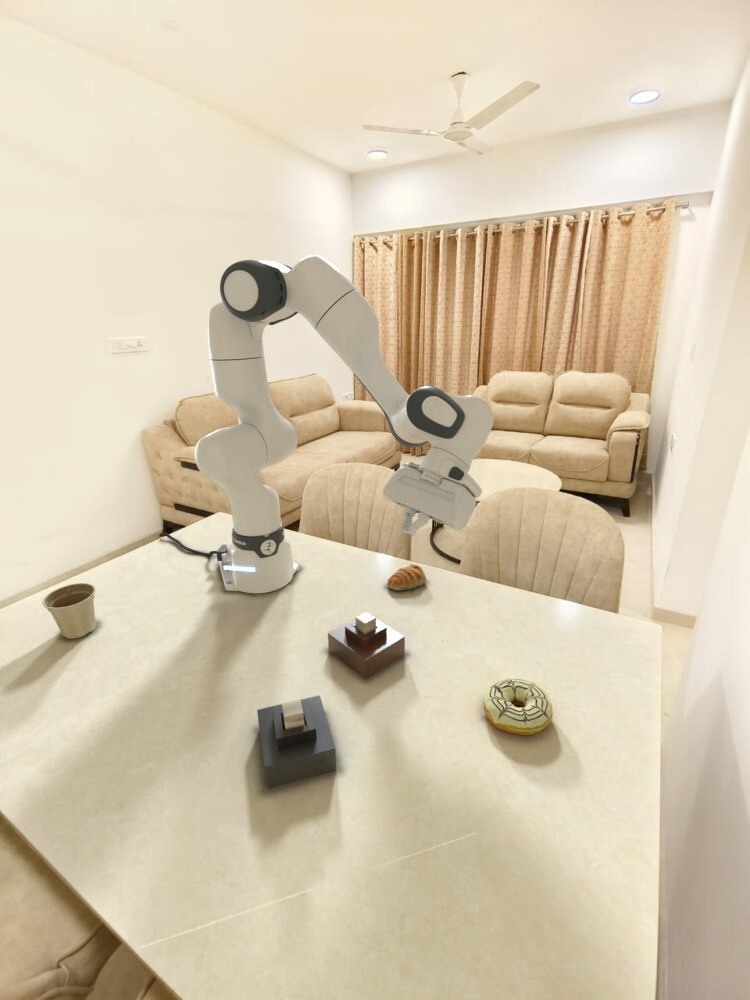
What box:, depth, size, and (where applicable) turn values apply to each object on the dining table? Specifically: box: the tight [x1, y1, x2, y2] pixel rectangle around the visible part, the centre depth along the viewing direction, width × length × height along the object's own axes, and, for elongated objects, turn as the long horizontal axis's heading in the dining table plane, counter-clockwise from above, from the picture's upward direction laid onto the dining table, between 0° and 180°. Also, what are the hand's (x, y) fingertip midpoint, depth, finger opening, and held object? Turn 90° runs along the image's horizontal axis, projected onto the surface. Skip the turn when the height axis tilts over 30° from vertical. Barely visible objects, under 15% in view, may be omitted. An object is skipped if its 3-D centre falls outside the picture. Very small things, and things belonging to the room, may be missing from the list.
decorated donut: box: [483, 677, 554, 736], centre depth 81 cm, size 10×11×4 cm
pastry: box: [387, 563, 427, 592], centre depth 120 cm, size 9×7×4 cm
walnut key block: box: [327, 618, 406, 680], centre depth 96 cm, size 11×10×6 cm
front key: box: [281, 699, 305, 730], centre depth 74 cm, size 3×3×2 cm
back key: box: [354, 611, 377, 634], centre depth 95 cm, size 3×3×2 cm
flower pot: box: [42, 582, 97, 640], centre depth 103 cm, size 9×9×9 cm
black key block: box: [256, 695, 337, 790], centre depth 75 cm, size 11×10×6 cm
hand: (406, 532), depth 96 cm, fingers closed
